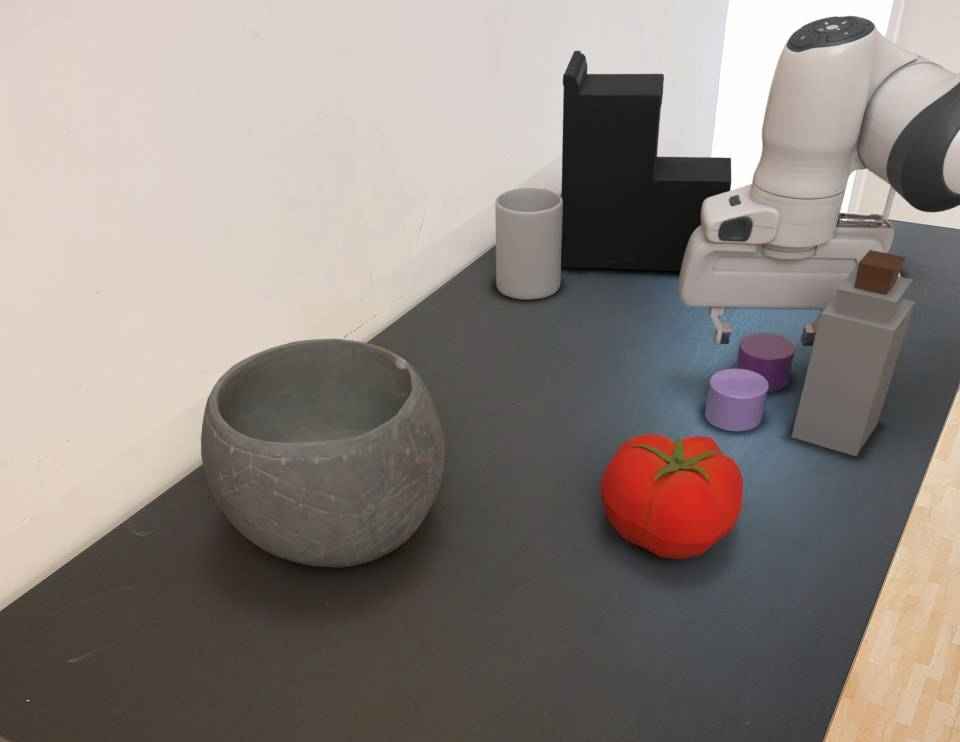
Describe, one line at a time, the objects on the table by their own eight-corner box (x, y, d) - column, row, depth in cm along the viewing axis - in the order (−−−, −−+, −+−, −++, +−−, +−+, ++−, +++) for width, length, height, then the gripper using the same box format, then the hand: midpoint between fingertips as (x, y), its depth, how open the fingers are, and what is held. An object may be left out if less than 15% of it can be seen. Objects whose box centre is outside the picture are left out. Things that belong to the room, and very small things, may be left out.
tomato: (773, 549, 84) (793, 468, 78) (661, 598, 80) (673, 516, 74) (678, 473, 93) (689, 394, 87) (572, 514, 89) (576, 434, 83)
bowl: (186, 524, 89) (142, 383, 79) (365, 441, 99) (347, 305, 88) (305, 641, 78) (272, 494, 67) (495, 535, 87) (493, 391, 76)
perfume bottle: (791, 437, 97) (833, 265, 84) (813, 407, 101) (857, 239, 88) (856, 456, 94) (909, 282, 82) (876, 425, 98) (930, 254, 85)
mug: (557, 301, 120) (560, 214, 112) (491, 298, 121) (490, 211, 114) (565, 262, 129) (568, 178, 121) (504, 260, 130) (503, 176, 122)
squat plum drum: (783, 365, 107) (791, 332, 105) (792, 392, 103) (799, 359, 100) (730, 365, 108) (736, 332, 105) (736, 392, 104) (743, 359, 101)
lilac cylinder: (757, 401, 102) (764, 368, 99) (765, 432, 98) (772, 398, 95) (702, 401, 102) (707, 367, 100) (707, 431, 98) (712, 397, 95)
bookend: (735, 241, 130) (761, 46, 114) (735, 274, 123) (763, 71, 106) (568, 238, 134) (570, 50, 118) (559, 271, 127) (559, 74, 110)
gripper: (892, 202, 94) (855, 331, 104) (687, 200, 96) (670, 327, 105) (907, 227, 90) (867, 359, 100) (692, 224, 91) (673, 355, 101)
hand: (764, 343), depth 103 cm, fingers open, 8 cm apart
